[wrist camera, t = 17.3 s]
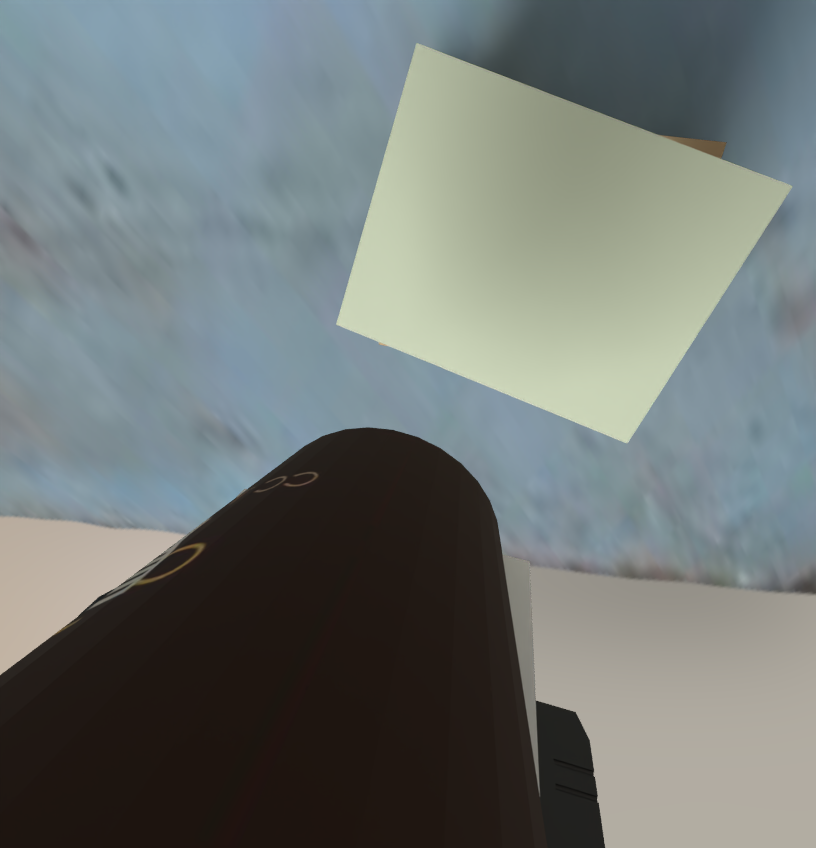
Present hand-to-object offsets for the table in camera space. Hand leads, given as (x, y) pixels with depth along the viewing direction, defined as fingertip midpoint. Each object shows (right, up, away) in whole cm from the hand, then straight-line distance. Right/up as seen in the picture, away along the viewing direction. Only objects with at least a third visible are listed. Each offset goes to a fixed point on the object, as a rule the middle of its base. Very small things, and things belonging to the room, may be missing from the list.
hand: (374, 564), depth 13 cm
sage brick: (+7, +13, +12) cm, 19 cm away
